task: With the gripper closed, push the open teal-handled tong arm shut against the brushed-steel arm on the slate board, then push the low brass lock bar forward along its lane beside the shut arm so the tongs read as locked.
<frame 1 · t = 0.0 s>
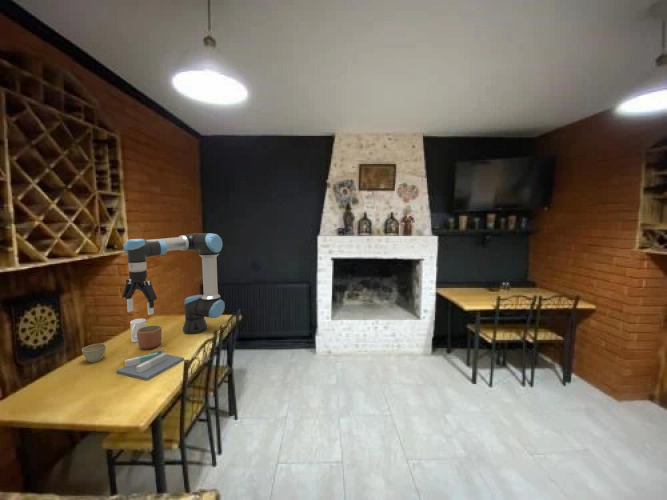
hand: (140, 312, 158), 28 cm above the table, fingers open, 13 cm apart
grey bowl: (95, 360, 167), on the table
board: (151, 366, 161), on the table
tong arm: (144, 359, 162), point 3 cm above the table, hinge at -32.0°
planter: (150, 347, 185), on the table
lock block: (158, 354, 171), point 2 cm above the table, touching board
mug: (137, 340, 194), on the table
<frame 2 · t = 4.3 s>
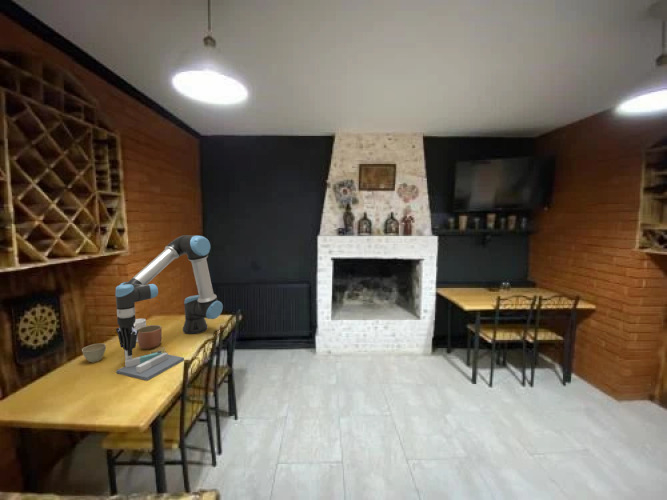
hand: (128, 361, 160), 3 cm above the table, fingers closed
tong arm: (144, 359, 162), point 3 cm above the table, hinge at -30.7°, touching gripper
everything else where it was.
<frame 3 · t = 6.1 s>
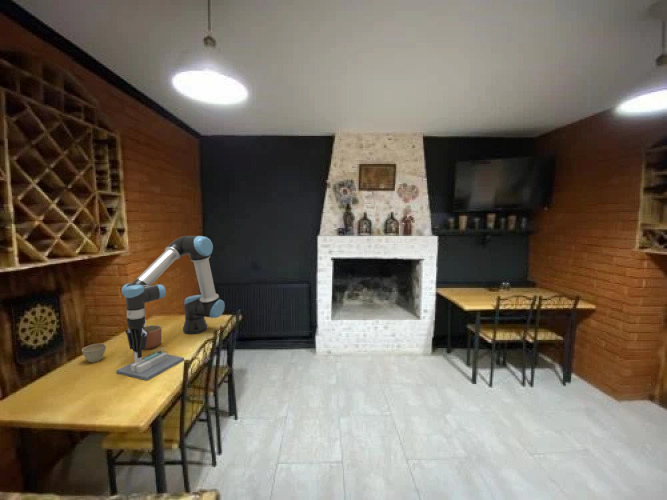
hand: (138, 363, 157), 3 cm above the table, fingers closed
tong arm: (147, 361, 160), point 3 cm above the table, hinge at -0.7°, touching gripper
everything else where it was.
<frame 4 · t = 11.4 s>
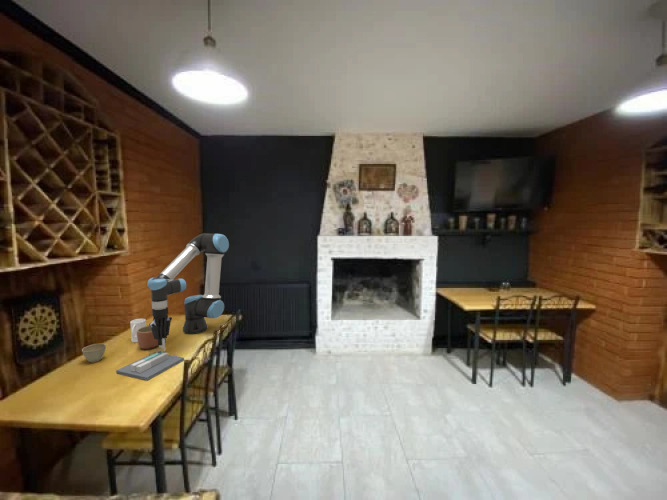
hand: (162, 349, 173), 3 cm above the table, fingers closed
tong arm: (147, 361, 160), point 3 cm above the table, hinge at -0.6°
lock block: (156, 355, 170), point 2 cm above the table, touching gripper
everything else where it was.
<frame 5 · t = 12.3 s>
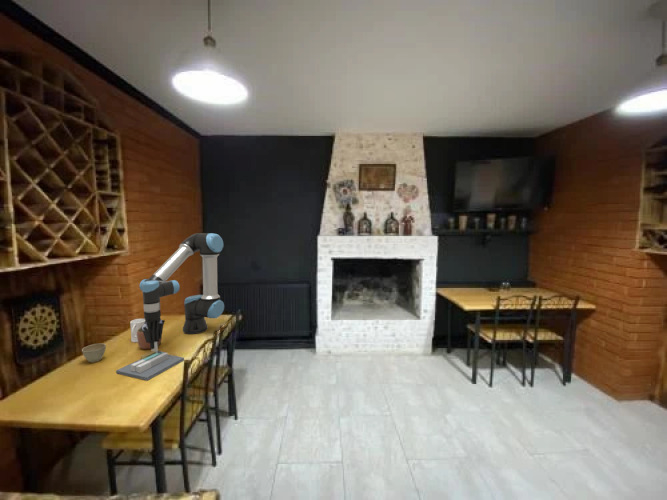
hand: (154, 353, 168), 3 cm above the table, fingers closed
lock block: (148, 359, 165), point 2 cm above the table, touching board, gripper
everything else where it was.
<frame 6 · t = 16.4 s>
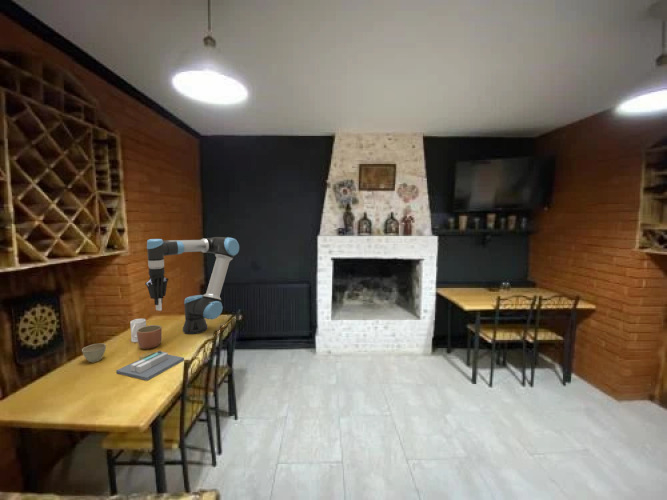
hand: (158, 310, 174), 24 cm above the table, fingers closed
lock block: (147, 359, 164), point 2 cm above the table, touching board
everything else where it was.
at the end: tong arm at -1° (first picture: -32°); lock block 1.3 cm from the target spot, point 1.6 cm above the table; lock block tilted 0° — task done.
